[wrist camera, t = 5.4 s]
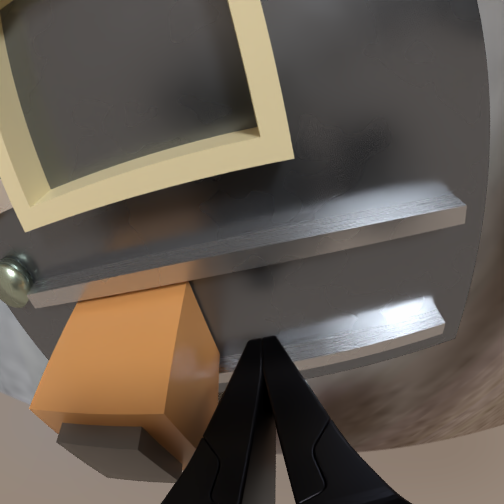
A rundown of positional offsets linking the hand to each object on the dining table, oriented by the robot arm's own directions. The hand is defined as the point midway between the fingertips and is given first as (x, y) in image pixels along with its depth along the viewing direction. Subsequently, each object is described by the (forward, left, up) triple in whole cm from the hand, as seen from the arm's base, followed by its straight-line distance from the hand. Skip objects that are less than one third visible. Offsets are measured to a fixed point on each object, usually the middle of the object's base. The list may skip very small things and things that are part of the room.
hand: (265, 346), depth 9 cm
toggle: (+4, 0, -2) cm, 4 cm away
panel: (+1, -4, -2) cm, 5 cm away
